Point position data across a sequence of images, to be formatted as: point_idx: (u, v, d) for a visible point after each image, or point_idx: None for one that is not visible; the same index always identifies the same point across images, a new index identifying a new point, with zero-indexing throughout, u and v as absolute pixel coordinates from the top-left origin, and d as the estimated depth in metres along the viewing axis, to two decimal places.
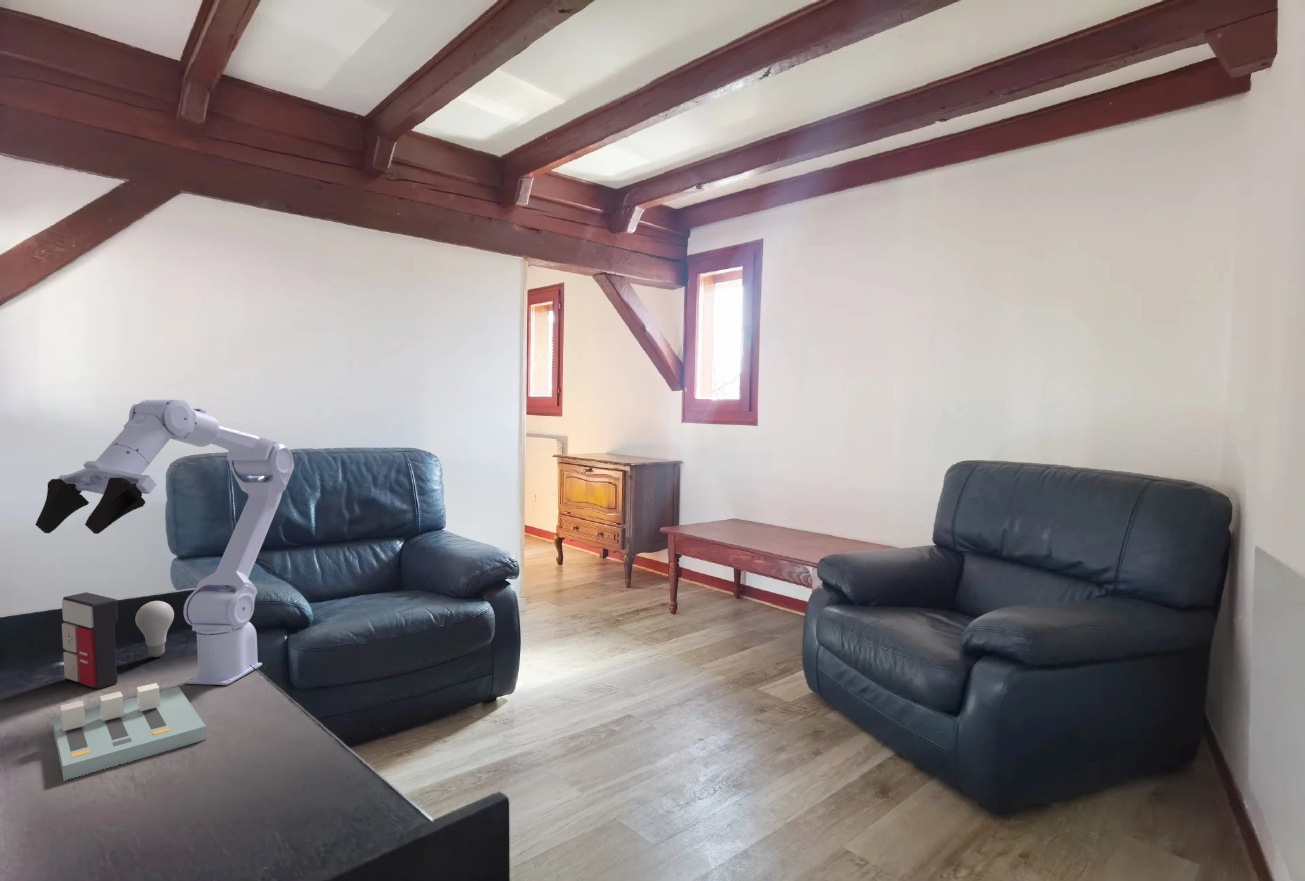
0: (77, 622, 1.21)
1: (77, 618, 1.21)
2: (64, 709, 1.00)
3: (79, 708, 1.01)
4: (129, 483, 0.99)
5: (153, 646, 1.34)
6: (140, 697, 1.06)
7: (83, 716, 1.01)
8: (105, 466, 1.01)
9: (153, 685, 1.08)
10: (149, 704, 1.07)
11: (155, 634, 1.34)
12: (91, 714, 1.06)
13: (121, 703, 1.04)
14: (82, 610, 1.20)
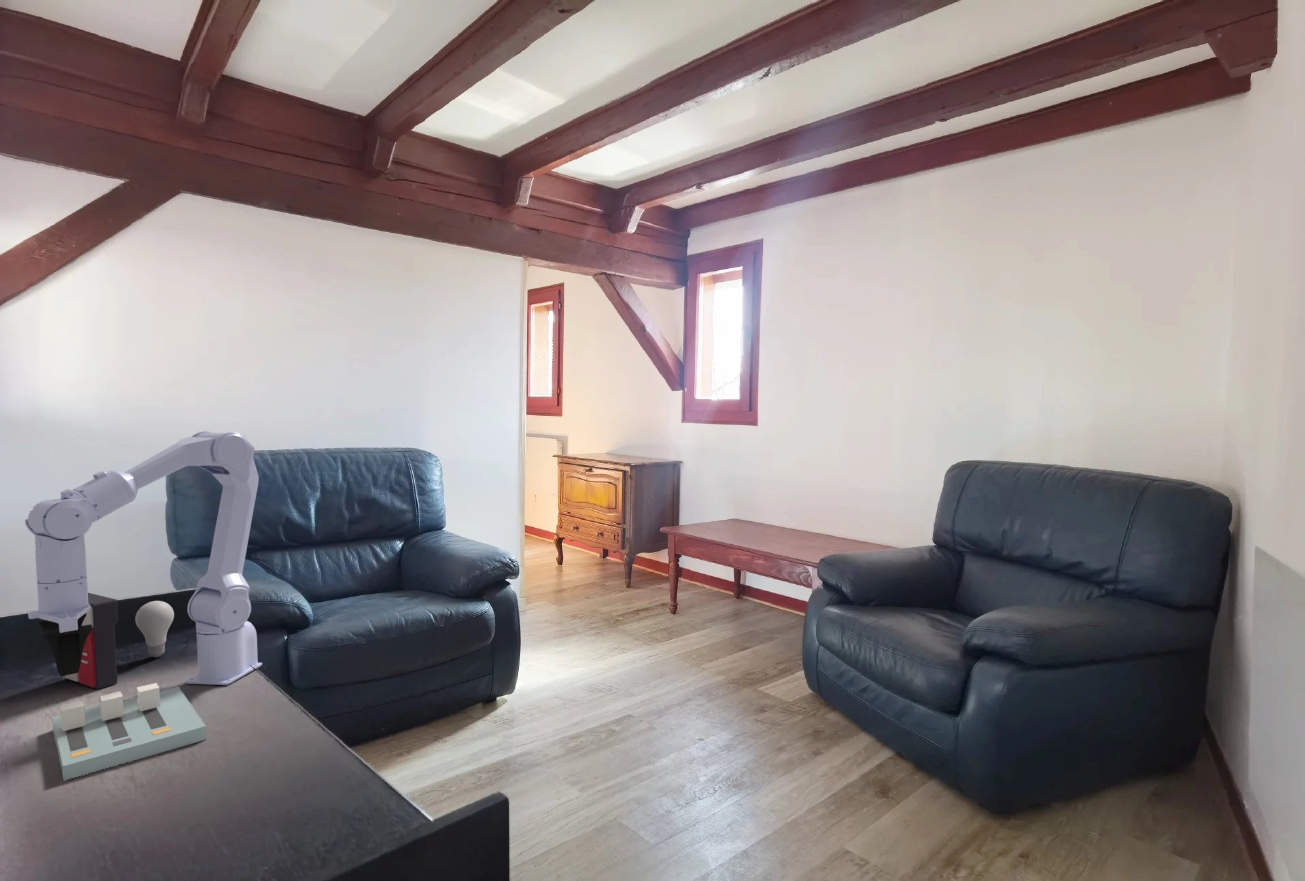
0: None
1: None
2: (64, 709, 1.00)
3: (79, 708, 1.01)
4: (52, 634, 0.99)
5: (152, 646, 1.34)
6: (140, 697, 1.06)
7: (83, 716, 1.01)
8: (40, 612, 1.02)
9: (153, 685, 1.08)
10: (149, 704, 1.07)
11: (155, 634, 1.34)
12: (91, 714, 1.06)
13: (121, 703, 1.04)
14: None
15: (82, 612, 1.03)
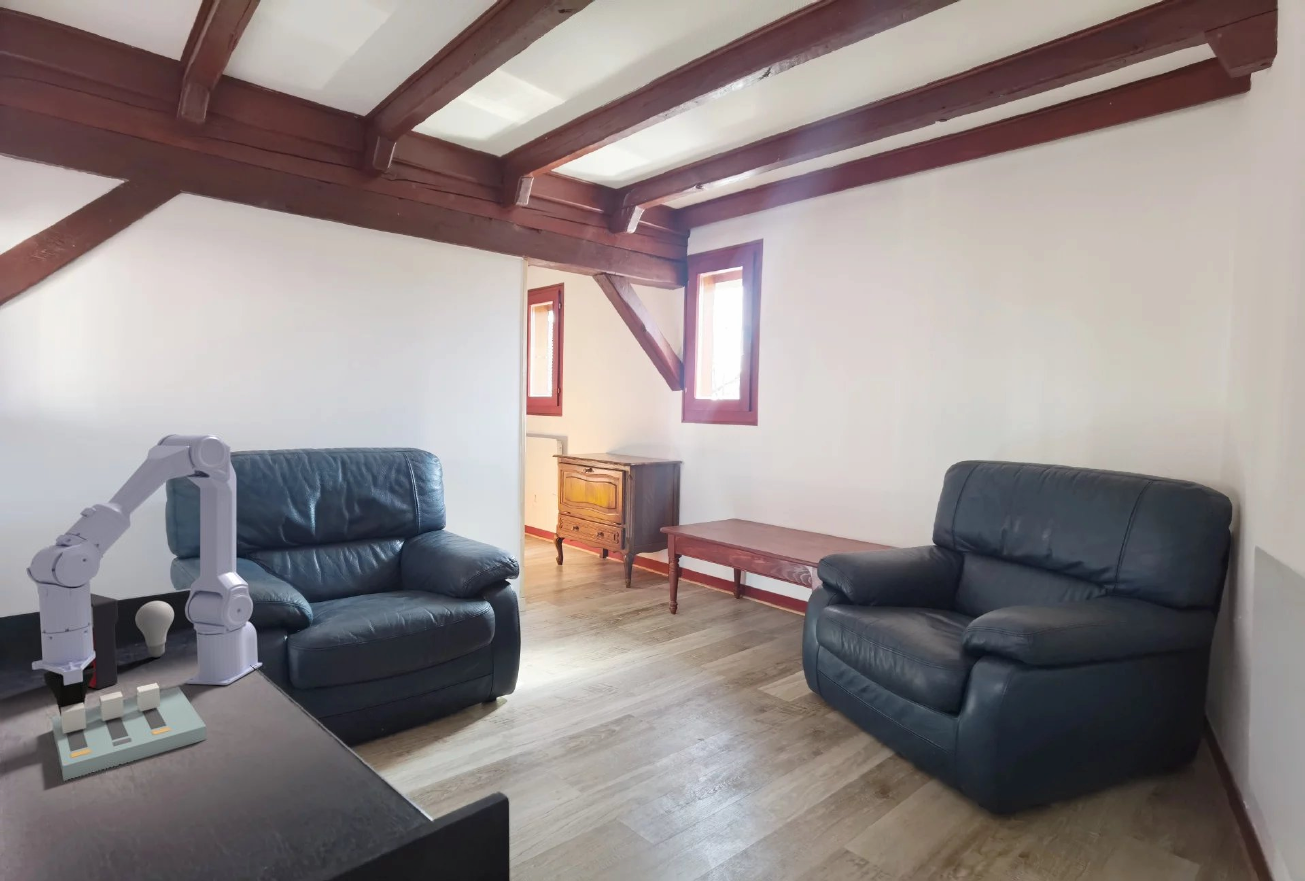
0: None
1: None
2: (65, 711, 0.99)
3: (80, 710, 1.00)
4: (54, 680, 0.99)
5: (152, 646, 1.34)
6: (140, 697, 1.06)
7: (84, 718, 1.00)
8: (45, 662, 0.99)
9: (153, 685, 1.08)
10: (149, 704, 1.07)
11: (155, 634, 1.34)
12: (91, 714, 1.06)
13: (121, 703, 1.04)
14: None
15: (87, 662, 1.00)
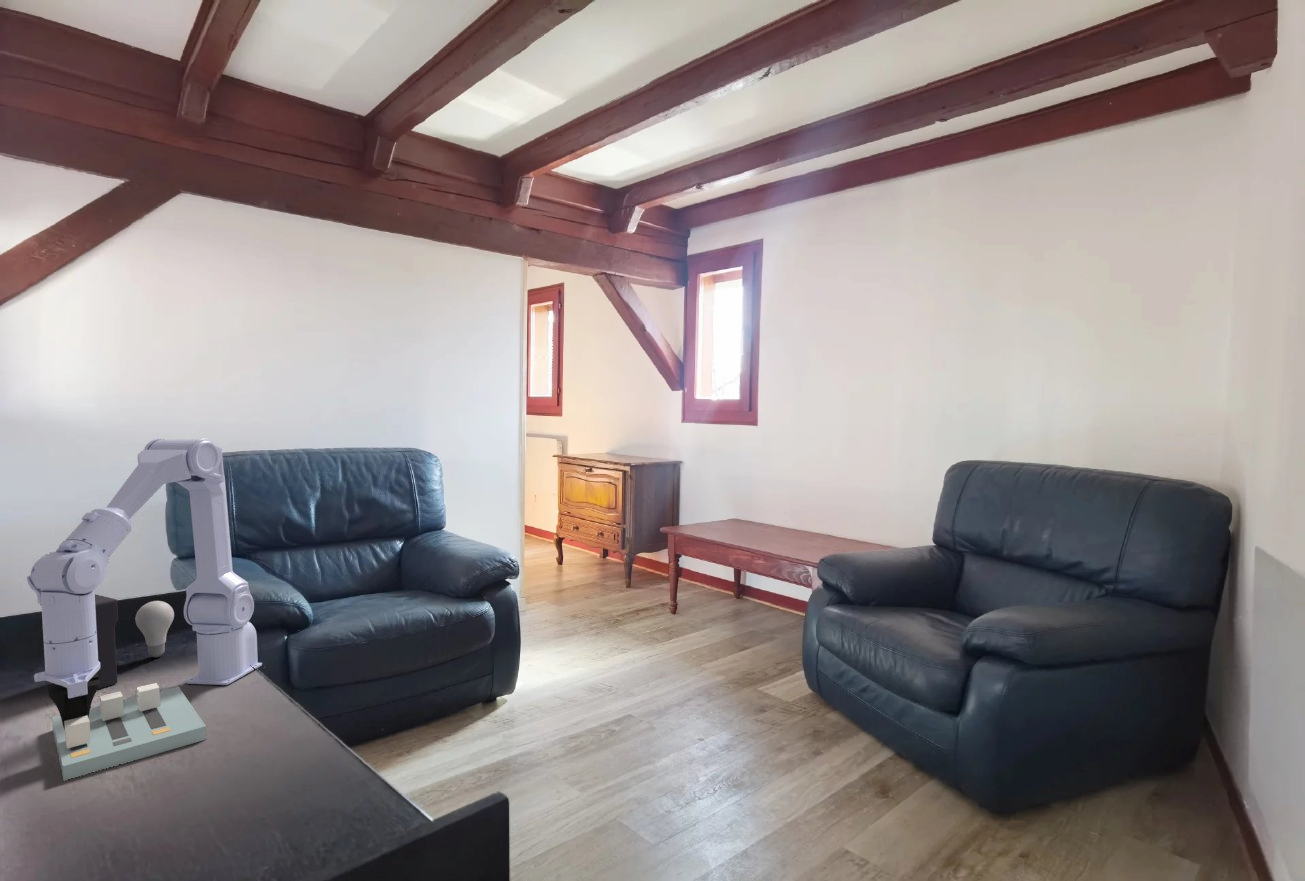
0: None
1: None
2: (69, 725, 0.95)
3: (84, 724, 0.96)
4: (58, 693, 0.95)
5: (152, 646, 1.34)
6: (140, 697, 1.06)
7: (88, 732, 0.96)
8: (47, 674, 0.95)
9: (153, 685, 1.08)
10: (149, 704, 1.07)
11: (155, 634, 1.34)
12: (91, 714, 1.06)
13: (121, 703, 1.04)
14: None
15: (92, 673, 0.96)
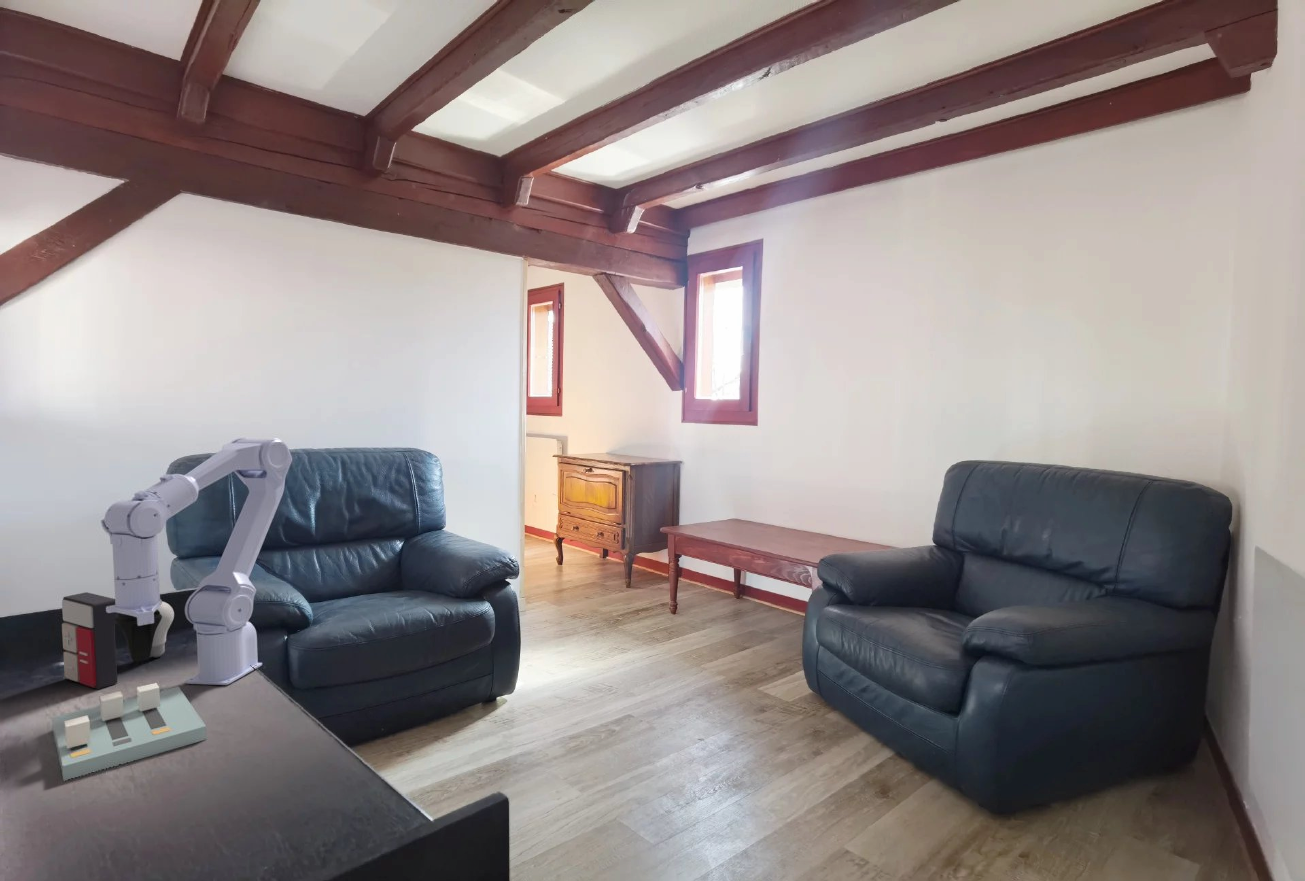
0: (77, 622, 1.21)
1: (77, 618, 1.21)
2: (69, 725, 0.95)
3: (84, 724, 0.96)
4: (127, 623, 1.08)
5: (152, 646, 1.34)
6: (140, 697, 1.06)
7: (88, 732, 0.96)
8: (118, 606, 1.08)
9: (153, 685, 1.08)
10: (149, 704, 1.07)
11: (155, 634, 1.34)
12: (91, 714, 1.06)
13: (121, 703, 1.04)
14: (82, 610, 1.20)
15: (156, 607, 1.09)
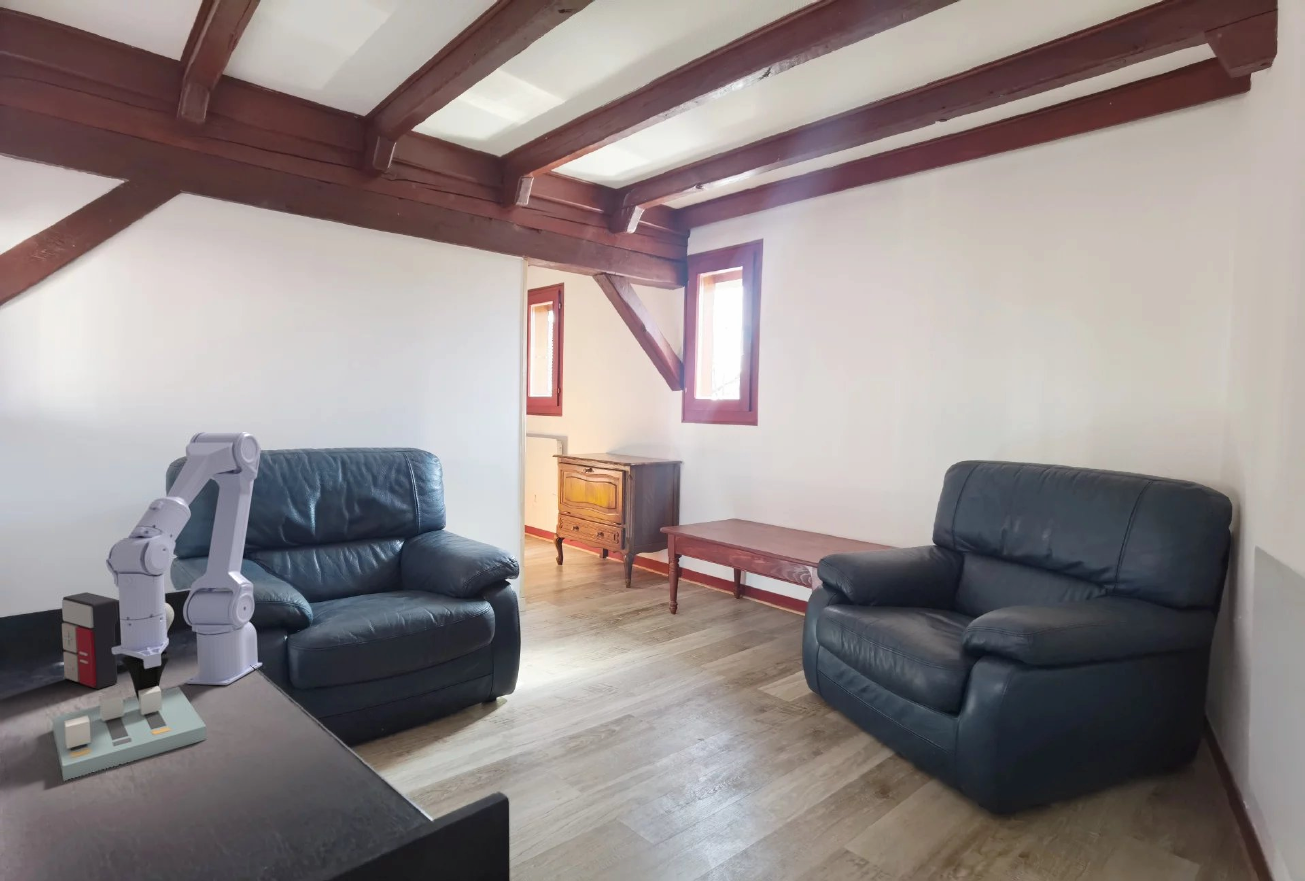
0: (77, 622, 1.21)
1: (77, 618, 1.21)
2: (69, 725, 0.95)
3: (84, 724, 0.96)
4: (133, 664, 1.05)
5: None
6: (142, 700, 1.05)
7: (88, 732, 0.96)
8: (124, 647, 1.05)
9: (155, 688, 1.07)
10: (151, 707, 1.05)
11: None
12: (91, 714, 1.06)
13: (121, 703, 1.04)
14: (82, 610, 1.20)
15: (163, 647, 1.06)
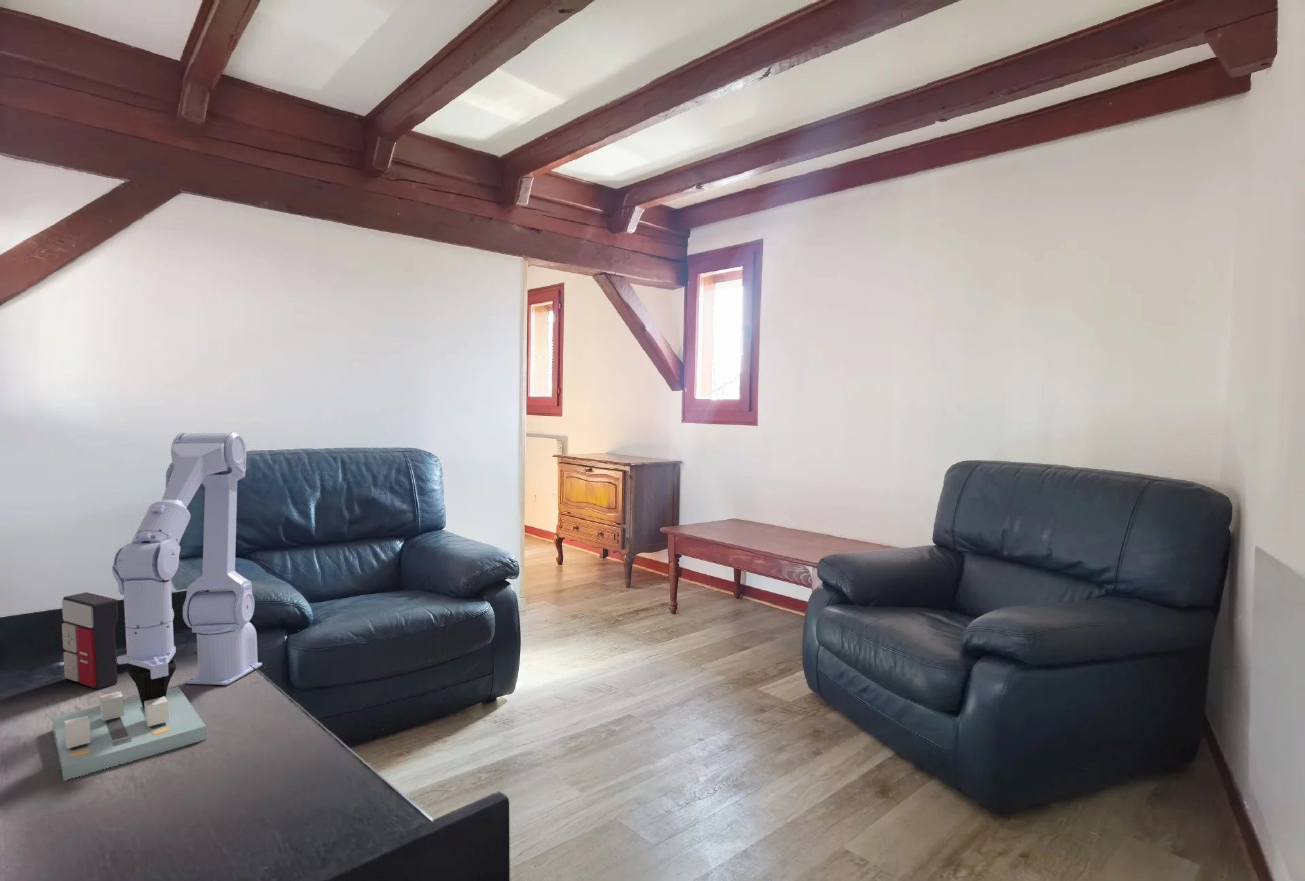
0: (77, 622, 1.21)
1: (77, 618, 1.21)
2: (69, 725, 0.95)
3: (84, 724, 0.96)
4: (139, 674, 1.01)
5: None
6: (148, 712, 1.01)
7: (88, 732, 0.96)
8: (129, 657, 1.01)
9: (161, 699, 1.03)
10: (157, 719, 1.01)
11: None
12: (91, 714, 1.06)
13: (121, 703, 1.04)
14: (82, 610, 1.20)
15: (170, 656, 1.02)
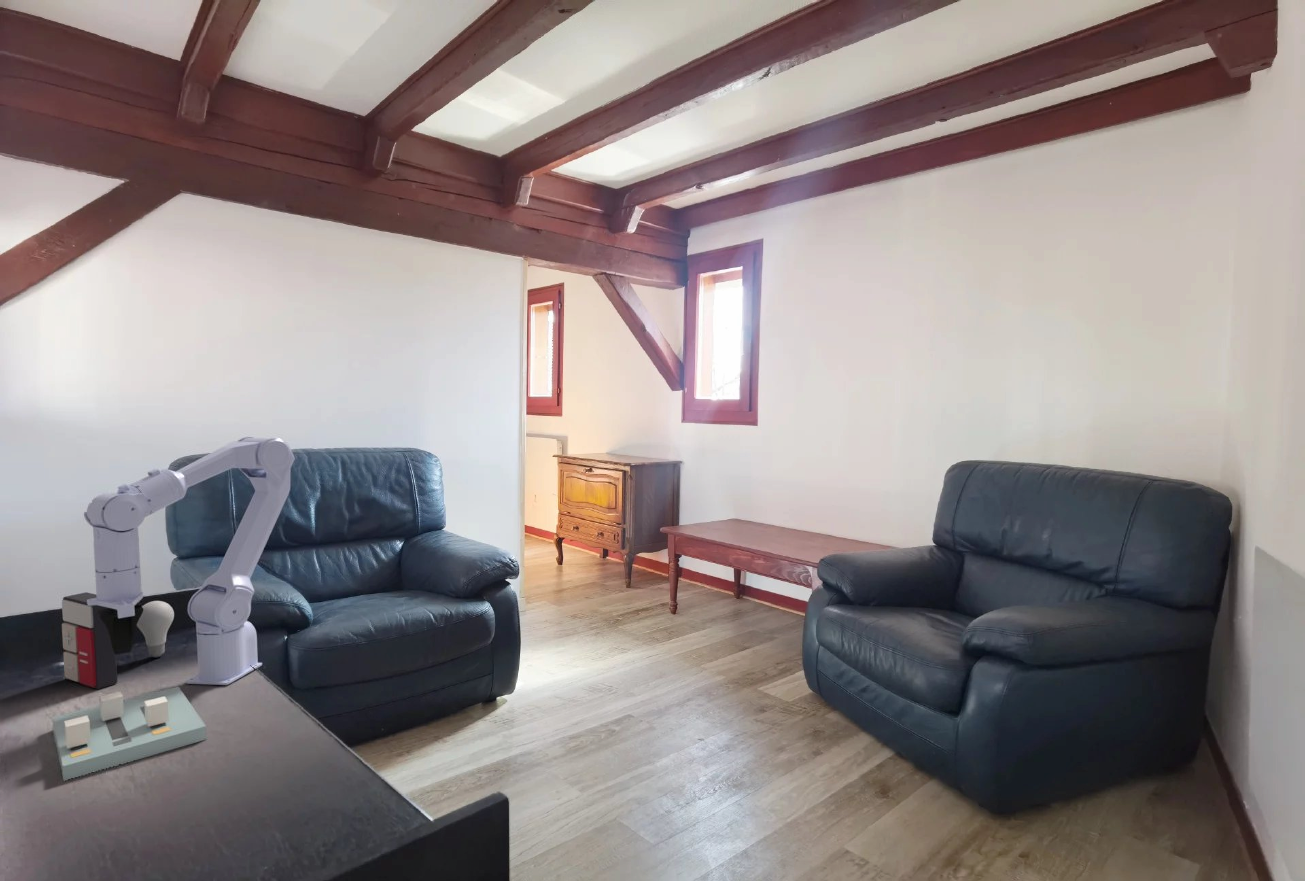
0: (77, 622, 1.21)
1: (77, 618, 1.21)
2: (69, 725, 0.95)
3: (84, 724, 0.96)
4: (108, 615, 1.08)
5: (153, 646, 1.34)
6: (148, 712, 1.01)
7: (88, 732, 0.96)
8: (99, 599, 1.08)
9: (161, 699, 1.03)
10: (157, 719, 1.01)
11: (155, 634, 1.34)
12: (91, 714, 1.06)
13: (121, 703, 1.04)
14: (82, 610, 1.20)
15: (137, 599, 1.10)
